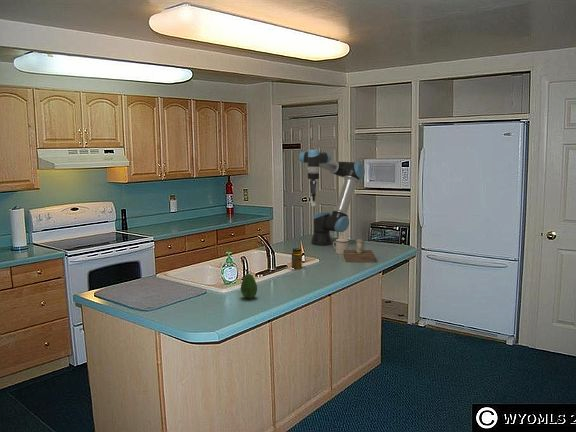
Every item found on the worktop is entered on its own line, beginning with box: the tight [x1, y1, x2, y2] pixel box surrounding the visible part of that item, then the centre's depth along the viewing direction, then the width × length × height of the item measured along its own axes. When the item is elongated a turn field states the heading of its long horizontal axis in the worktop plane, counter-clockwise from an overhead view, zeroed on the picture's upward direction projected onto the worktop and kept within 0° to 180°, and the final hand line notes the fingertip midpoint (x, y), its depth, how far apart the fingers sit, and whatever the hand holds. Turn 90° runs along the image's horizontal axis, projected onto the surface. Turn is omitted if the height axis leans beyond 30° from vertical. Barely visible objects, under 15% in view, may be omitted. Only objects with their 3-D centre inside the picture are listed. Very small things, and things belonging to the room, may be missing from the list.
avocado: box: [240, 273, 258, 299], centre depth 249 cm, size 8×8×12 cm
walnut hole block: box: [343, 249, 376, 263], centre depth 331 cm, size 16×18×4 cm
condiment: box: [291, 247, 305, 271], centre depth 306 cm, size 7×8×12 cm
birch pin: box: [355, 238, 363, 253], centre depth 330 cm, size 4×4×13 cm
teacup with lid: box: [332, 235, 350, 255], centre depth 349 cm, size 12×9×12 cm
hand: (313, 204), depth 346 cm, fingers open, 13 cm apart
